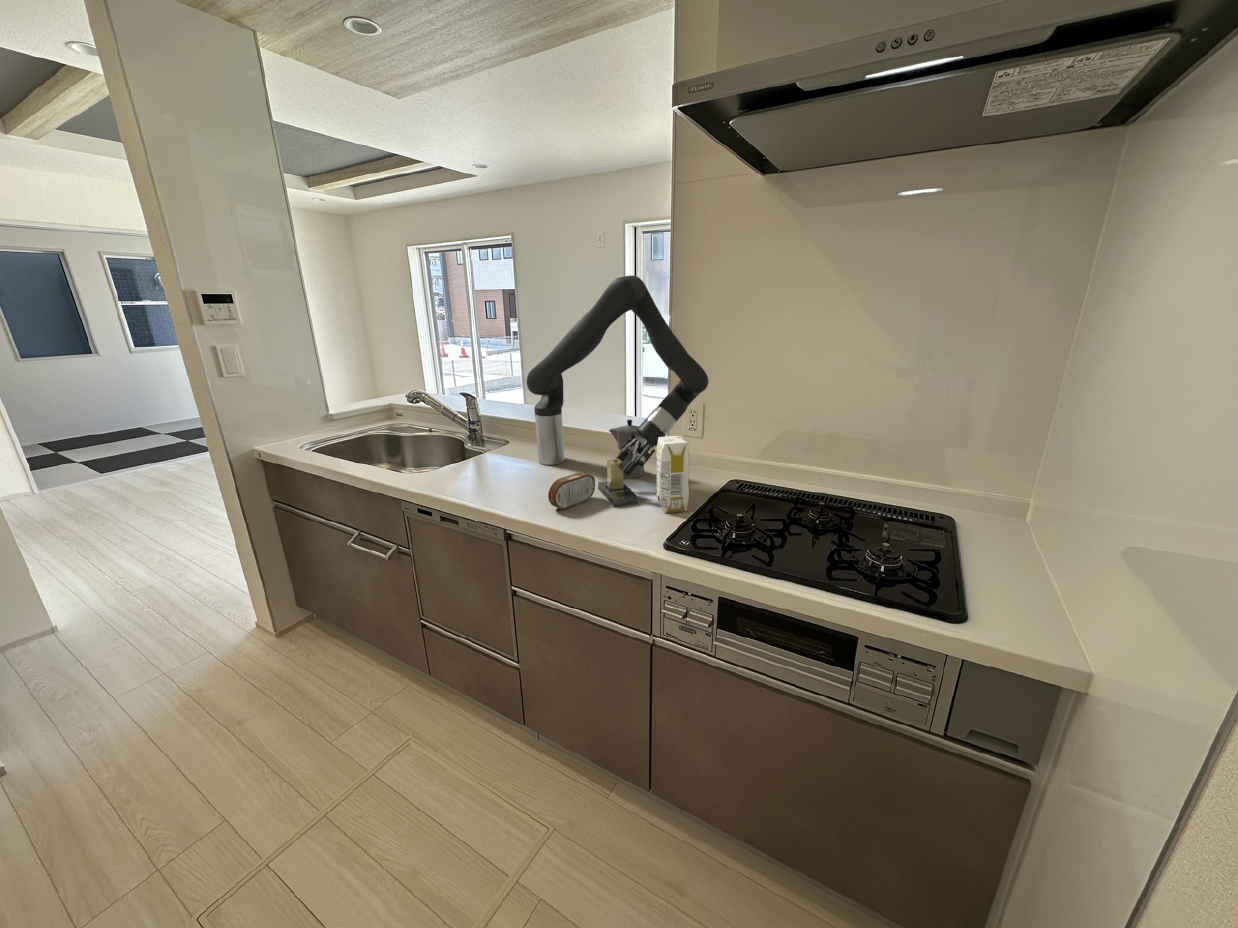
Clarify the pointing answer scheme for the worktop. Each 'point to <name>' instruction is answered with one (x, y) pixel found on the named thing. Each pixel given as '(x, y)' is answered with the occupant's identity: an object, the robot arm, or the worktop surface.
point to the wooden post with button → (615, 475)
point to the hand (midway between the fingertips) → (620, 469)
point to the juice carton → (673, 473)
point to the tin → (571, 490)
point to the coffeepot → (621, 436)
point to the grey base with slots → (618, 495)
